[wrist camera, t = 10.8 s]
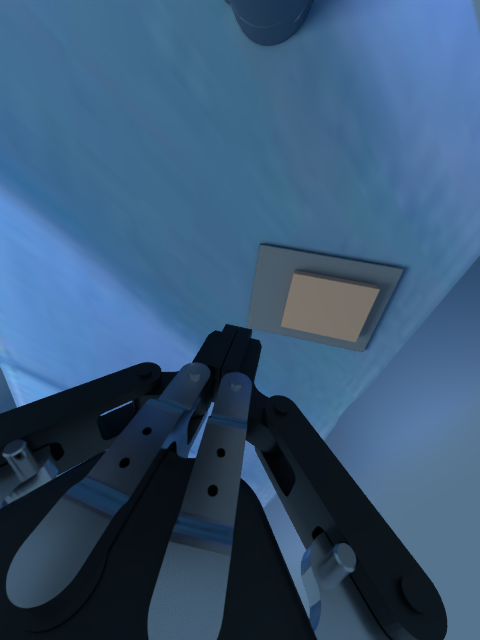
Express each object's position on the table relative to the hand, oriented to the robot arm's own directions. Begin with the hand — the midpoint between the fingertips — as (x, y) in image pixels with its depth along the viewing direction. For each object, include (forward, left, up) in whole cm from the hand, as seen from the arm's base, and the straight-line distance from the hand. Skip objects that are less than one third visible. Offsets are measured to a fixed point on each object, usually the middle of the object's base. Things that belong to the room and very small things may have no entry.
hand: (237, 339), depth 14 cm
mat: (+11, -6, -29) cm, 32 cm away
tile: (+7, -8, -27) cm, 29 cm away
